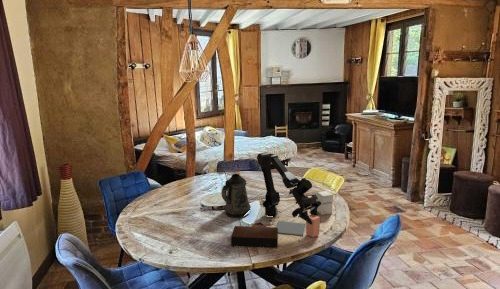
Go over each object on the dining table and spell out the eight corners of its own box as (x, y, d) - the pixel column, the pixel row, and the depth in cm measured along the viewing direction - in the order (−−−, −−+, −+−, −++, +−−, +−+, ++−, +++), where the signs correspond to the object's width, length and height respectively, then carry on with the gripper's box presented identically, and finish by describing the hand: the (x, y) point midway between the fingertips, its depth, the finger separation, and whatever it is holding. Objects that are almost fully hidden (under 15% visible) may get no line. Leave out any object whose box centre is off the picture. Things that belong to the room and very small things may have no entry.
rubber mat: (273, 232, 184) (273, 231, 184) (277, 221, 197) (277, 220, 197) (302, 235, 180) (302, 234, 180) (305, 224, 194) (305, 223, 193)
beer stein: (253, 208, 217) (253, 171, 211) (245, 221, 198) (244, 181, 193) (229, 206, 221) (228, 169, 216) (219, 218, 203) (217, 179, 197)
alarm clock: (277, 237, 180) (277, 227, 179) (277, 249, 168) (277, 238, 167) (234, 235, 182) (234, 225, 181) (231, 247, 171) (230, 236, 169)
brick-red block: (306, 233, 181) (306, 216, 179) (312, 230, 184) (312, 214, 182) (313, 237, 177) (313, 219, 175) (319, 234, 181) (319, 217, 178)
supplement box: (321, 215, 206) (322, 195, 203) (316, 210, 213) (316, 191, 210) (332, 213, 208) (333, 194, 205) (326, 209, 215) (327, 190, 212)
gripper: (296, 194, 173) (312, 221, 167) (319, 186, 184) (335, 211, 178) (285, 204, 181) (299, 230, 175) (308, 195, 192) (322, 220, 186)
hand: (315, 222), depth 178 cm, fingers closed on brick-red block, 5 cm apart
